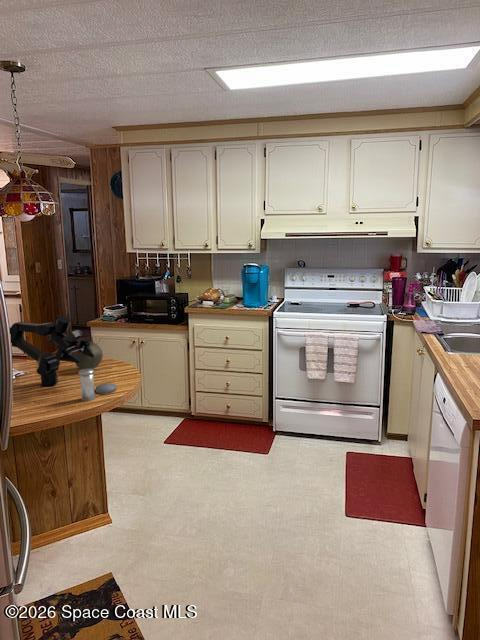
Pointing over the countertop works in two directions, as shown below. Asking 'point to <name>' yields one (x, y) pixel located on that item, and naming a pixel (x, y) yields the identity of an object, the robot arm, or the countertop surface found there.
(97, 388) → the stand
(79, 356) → the grey round ball
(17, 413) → the countertop surface
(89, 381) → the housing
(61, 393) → the countertop surface
